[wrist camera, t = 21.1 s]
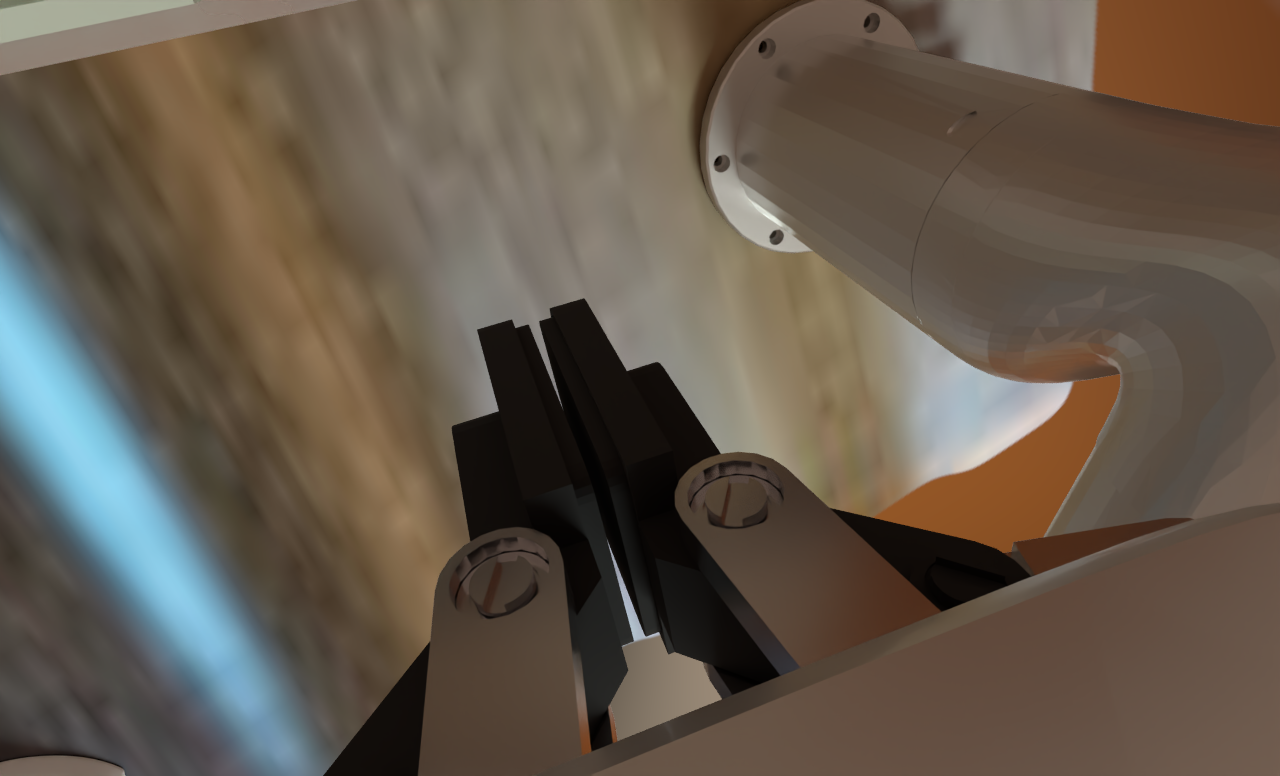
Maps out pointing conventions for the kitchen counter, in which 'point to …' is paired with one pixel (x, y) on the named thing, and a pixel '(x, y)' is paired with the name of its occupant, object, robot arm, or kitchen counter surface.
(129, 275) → the kitchen counter surface
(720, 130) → the robot arm
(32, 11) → the pale green open box
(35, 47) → the white flat board
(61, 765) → the jar
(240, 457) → the kitchen counter surface
